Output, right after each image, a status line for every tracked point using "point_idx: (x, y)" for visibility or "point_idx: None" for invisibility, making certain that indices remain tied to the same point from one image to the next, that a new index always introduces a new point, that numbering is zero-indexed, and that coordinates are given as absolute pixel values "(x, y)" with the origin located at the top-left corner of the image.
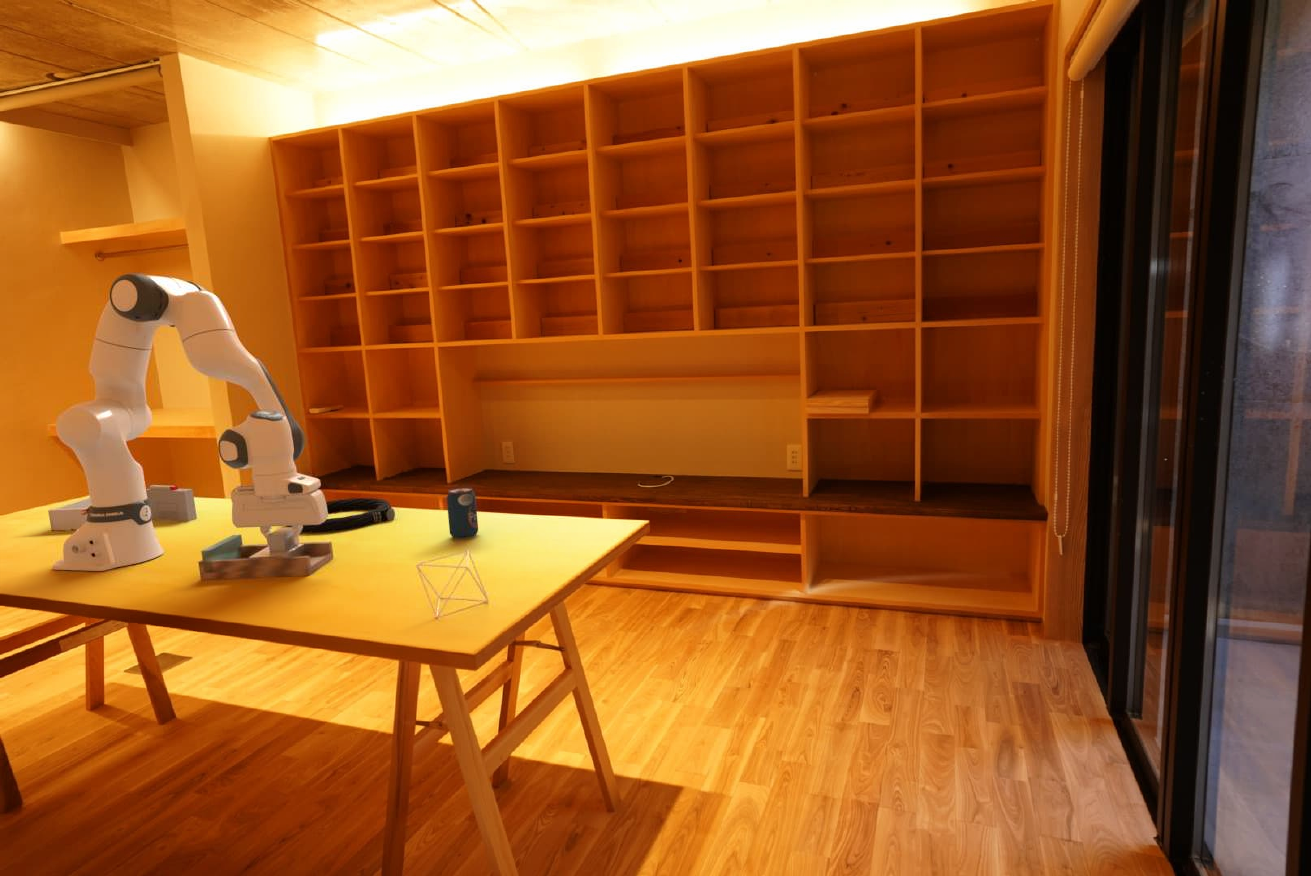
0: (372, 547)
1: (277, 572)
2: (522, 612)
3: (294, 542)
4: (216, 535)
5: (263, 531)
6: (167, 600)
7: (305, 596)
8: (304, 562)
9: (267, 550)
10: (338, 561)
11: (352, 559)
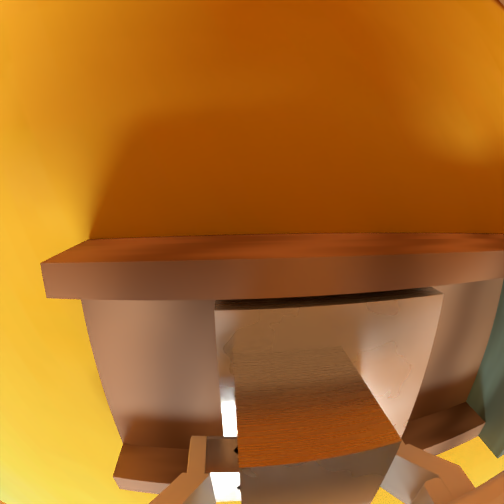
0: (86, 485)
1: (246, 238)
2: None
3: (197, 444)
4: None
5: (441, 473)
6: (499, 49)
7: (21, 15)
8: (70, 255)
9: (383, 409)
10: (87, 403)
11: (55, 410)
